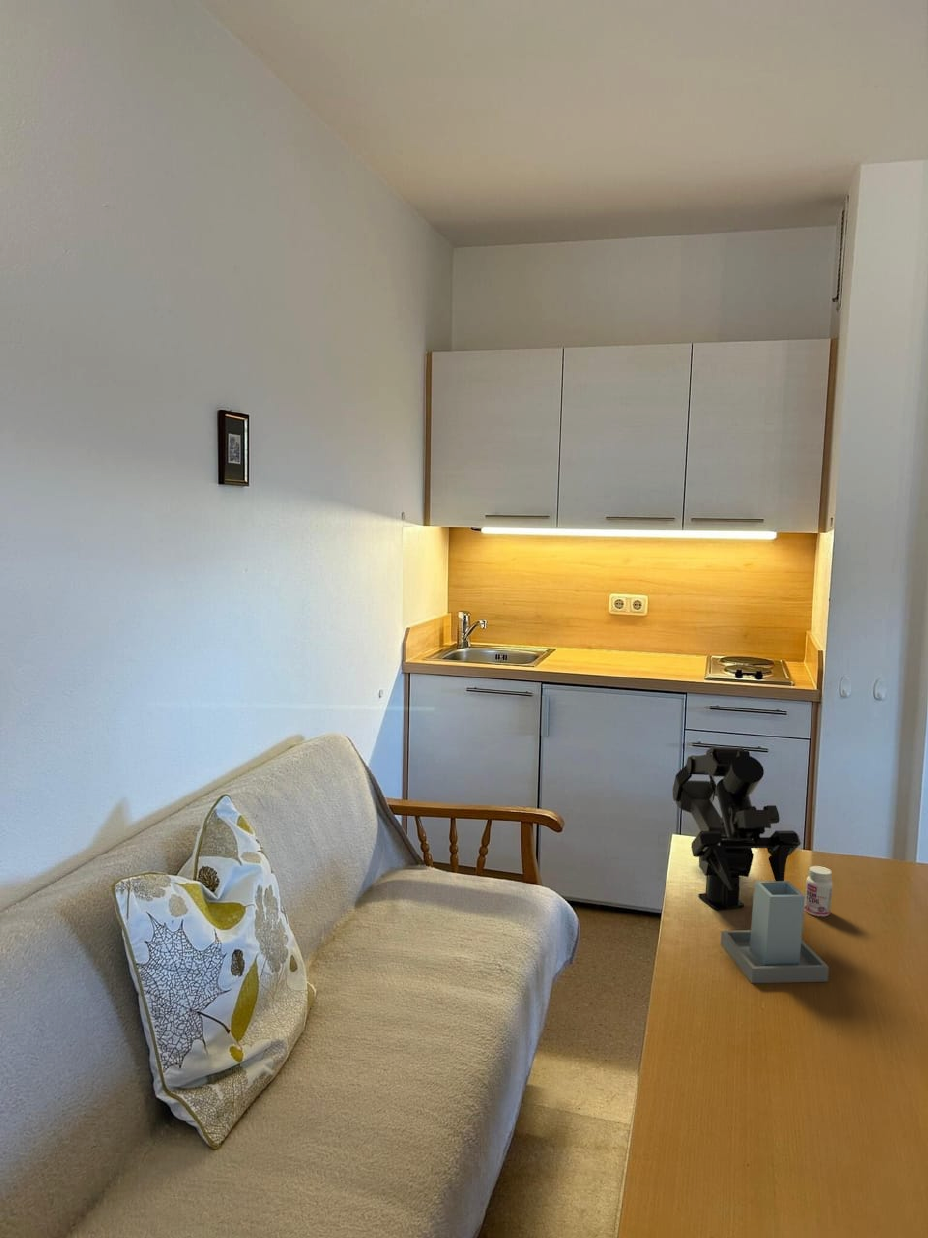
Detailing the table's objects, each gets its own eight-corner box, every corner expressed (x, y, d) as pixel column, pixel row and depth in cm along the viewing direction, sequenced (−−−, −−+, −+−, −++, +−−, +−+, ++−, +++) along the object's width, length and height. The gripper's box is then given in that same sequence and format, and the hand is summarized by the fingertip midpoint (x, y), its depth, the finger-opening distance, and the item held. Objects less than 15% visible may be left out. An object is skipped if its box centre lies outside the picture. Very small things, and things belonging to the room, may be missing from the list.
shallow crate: (720, 944, 159) (721, 930, 159) (790, 943, 160) (792, 929, 160) (751, 983, 146) (752, 968, 146) (827, 981, 148) (829, 967, 147)
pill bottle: (801, 913, 172) (805, 871, 171) (805, 904, 177) (808, 863, 176) (828, 919, 170) (832, 877, 169) (831, 910, 174) (835, 868, 173)
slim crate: (749, 950, 155) (754, 881, 154) (782, 950, 156) (788, 881, 154) (764, 968, 149) (770, 896, 148) (798, 967, 150) (805, 896, 149)
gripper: (701, 788, 162) (720, 872, 153) (800, 788, 164) (825, 871, 155) (683, 815, 171) (700, 896, 161) (777, 815, 173) (799, 894, 163)
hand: (756, 889), depth 160 cm, fingers open, 9 cm apart
